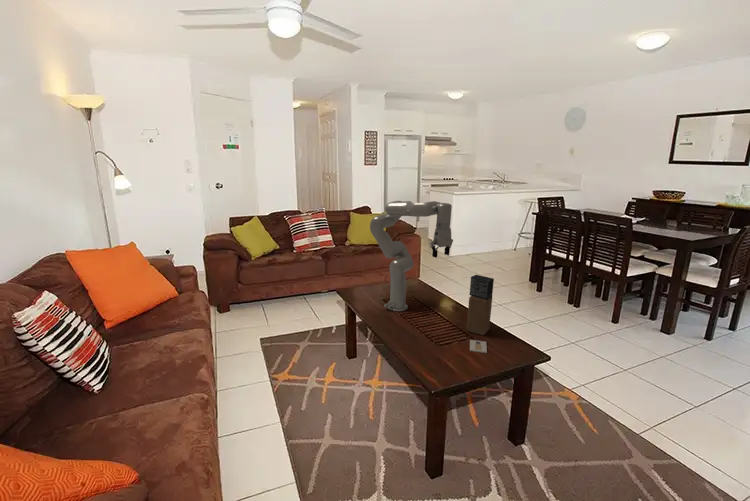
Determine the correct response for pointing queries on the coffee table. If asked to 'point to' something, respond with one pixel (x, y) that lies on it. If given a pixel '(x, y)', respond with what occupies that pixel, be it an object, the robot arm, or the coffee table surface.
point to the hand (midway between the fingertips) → (440, 255)
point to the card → (478, 346)
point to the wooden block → (479, 315)
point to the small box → (481, 287)
